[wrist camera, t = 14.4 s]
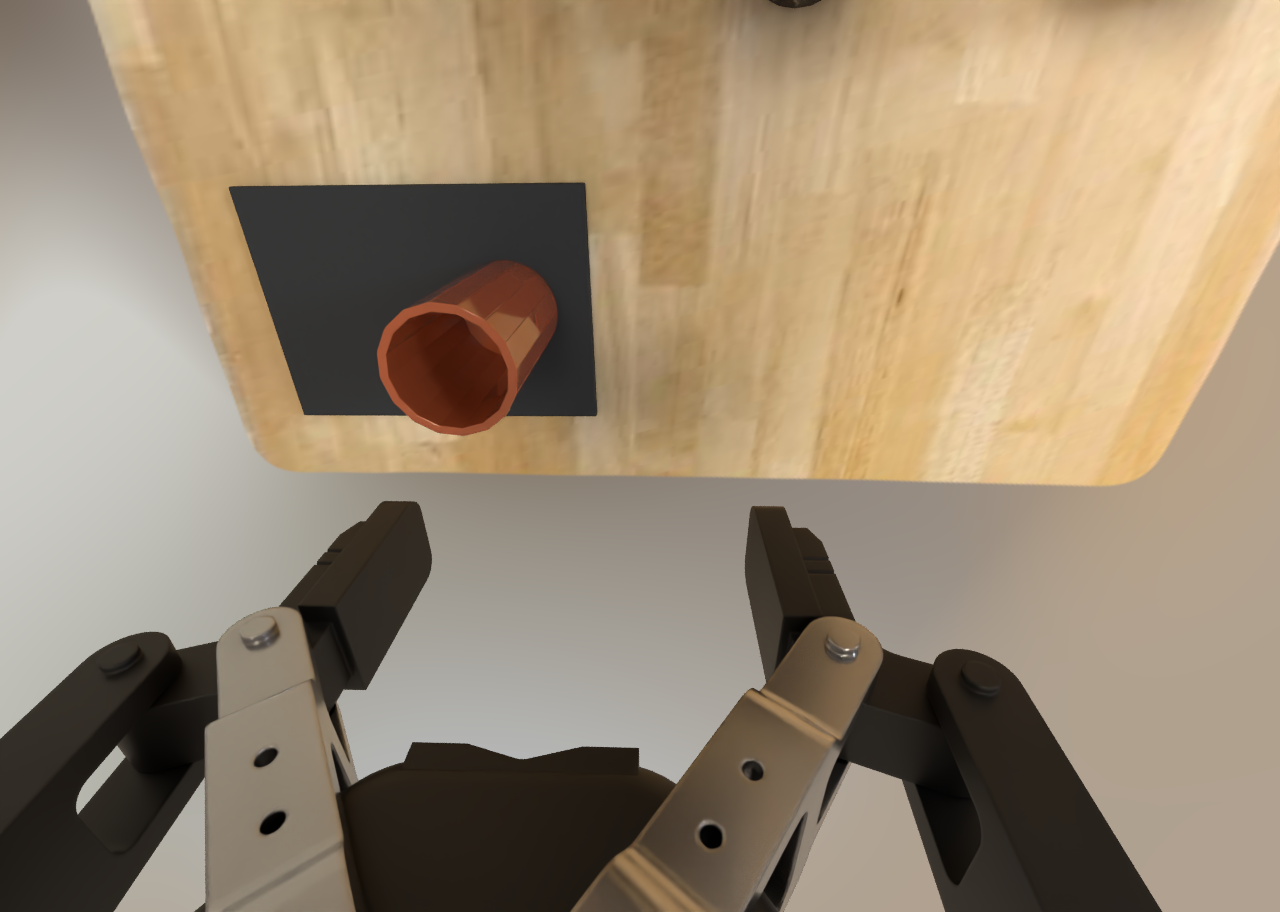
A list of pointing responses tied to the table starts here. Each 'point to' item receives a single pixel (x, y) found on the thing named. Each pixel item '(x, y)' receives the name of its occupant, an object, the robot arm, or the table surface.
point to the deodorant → (794, 3)
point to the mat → (413, 278)
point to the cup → (468, 347)
